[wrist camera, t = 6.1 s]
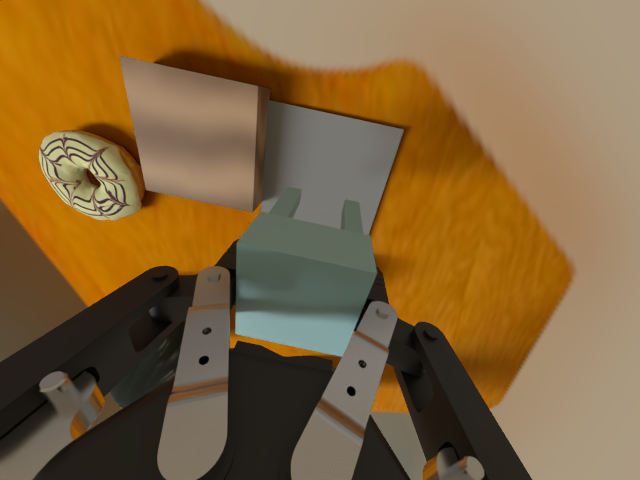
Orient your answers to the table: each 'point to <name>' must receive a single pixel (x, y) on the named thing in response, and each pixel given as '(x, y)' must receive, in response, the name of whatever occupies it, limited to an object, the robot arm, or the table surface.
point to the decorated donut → (92, 174)
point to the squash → (151, 369)
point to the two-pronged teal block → (303, 277)
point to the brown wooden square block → (198, 133)
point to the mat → (326, 162)
